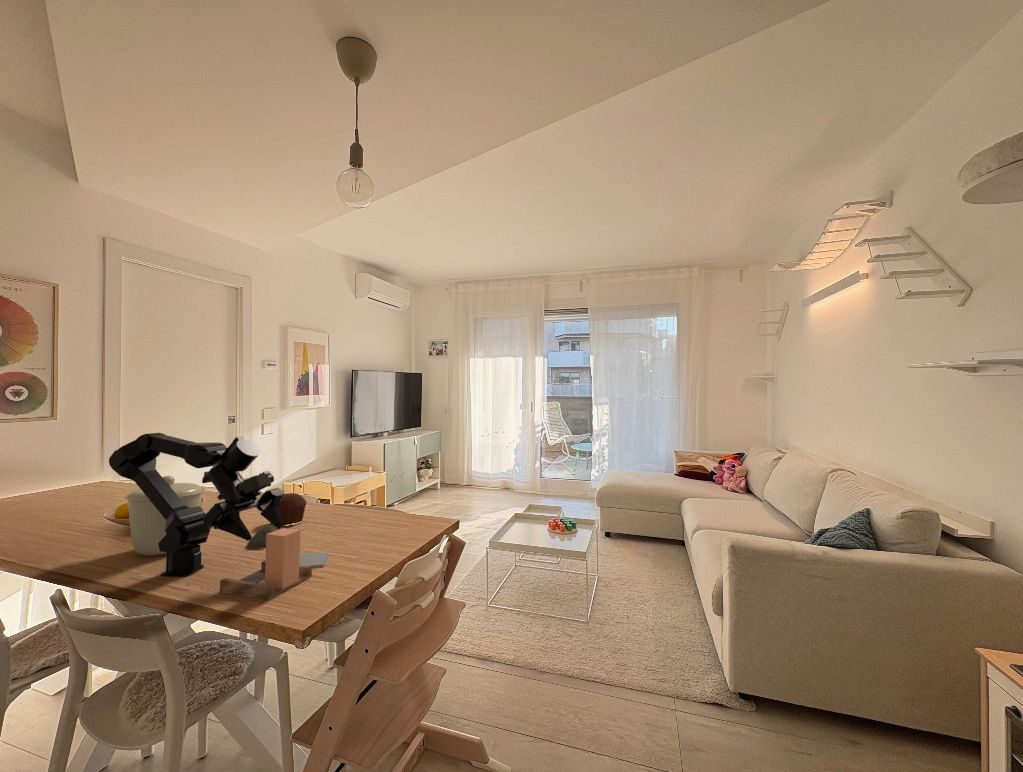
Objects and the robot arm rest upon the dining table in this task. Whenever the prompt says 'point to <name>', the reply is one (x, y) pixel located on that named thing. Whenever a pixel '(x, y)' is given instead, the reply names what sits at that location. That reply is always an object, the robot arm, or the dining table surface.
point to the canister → (155, 515)
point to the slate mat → (313, 559)
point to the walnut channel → (260, 584)
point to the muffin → (292, 508)
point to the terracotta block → (282, 557)
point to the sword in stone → (260, 537)
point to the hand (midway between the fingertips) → (266, 533)
